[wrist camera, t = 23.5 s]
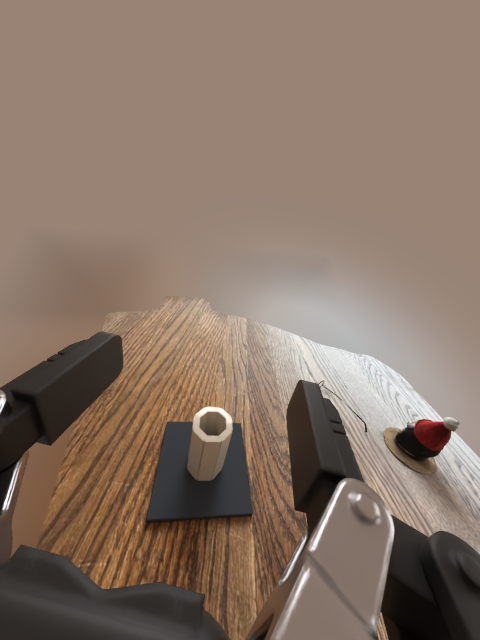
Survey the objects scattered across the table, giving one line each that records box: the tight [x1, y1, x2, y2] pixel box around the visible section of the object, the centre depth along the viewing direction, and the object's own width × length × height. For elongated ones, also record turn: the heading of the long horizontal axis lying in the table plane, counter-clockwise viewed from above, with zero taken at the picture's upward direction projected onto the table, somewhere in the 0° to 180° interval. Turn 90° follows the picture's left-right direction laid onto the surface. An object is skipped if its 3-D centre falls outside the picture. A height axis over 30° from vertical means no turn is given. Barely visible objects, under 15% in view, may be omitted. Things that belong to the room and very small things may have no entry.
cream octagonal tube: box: [187, 407, 233, 481], centre depth 27 cm, size 5×5×8 cm
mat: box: [146, 422, 253, 522], centre depth 29 cm, size 12×12×1 cm
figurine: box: [383, 417, 460, 474], centre depth 36 cm, size 8×10×12 cm
